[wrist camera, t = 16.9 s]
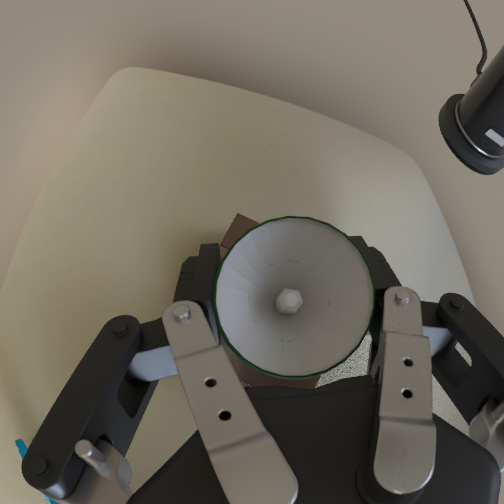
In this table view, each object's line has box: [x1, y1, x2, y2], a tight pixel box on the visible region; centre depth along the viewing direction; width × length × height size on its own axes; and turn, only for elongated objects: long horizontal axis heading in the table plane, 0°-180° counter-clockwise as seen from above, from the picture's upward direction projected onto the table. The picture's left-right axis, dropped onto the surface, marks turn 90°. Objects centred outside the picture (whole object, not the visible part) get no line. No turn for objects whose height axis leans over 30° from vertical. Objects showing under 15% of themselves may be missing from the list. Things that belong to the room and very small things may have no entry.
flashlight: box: [212, 216, 375, 379], centre depth 19 cm, size 5×5×20 cm
